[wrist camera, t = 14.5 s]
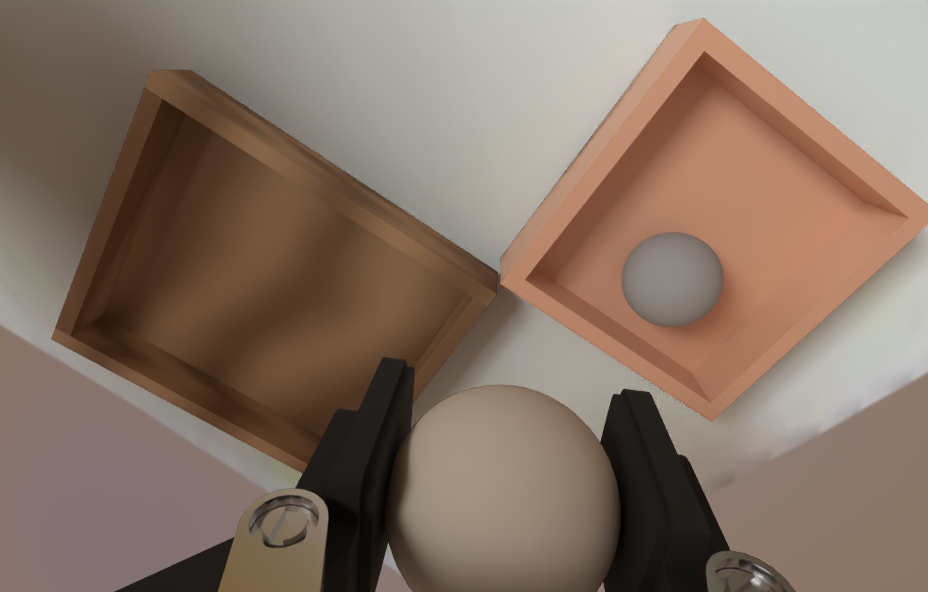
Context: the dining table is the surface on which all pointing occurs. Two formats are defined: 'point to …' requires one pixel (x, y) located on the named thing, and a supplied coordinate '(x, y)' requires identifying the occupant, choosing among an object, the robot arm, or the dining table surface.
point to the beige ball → (502, 497)
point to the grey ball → (672, 279)
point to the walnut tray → (258, 275)
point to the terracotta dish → (711, 218)
